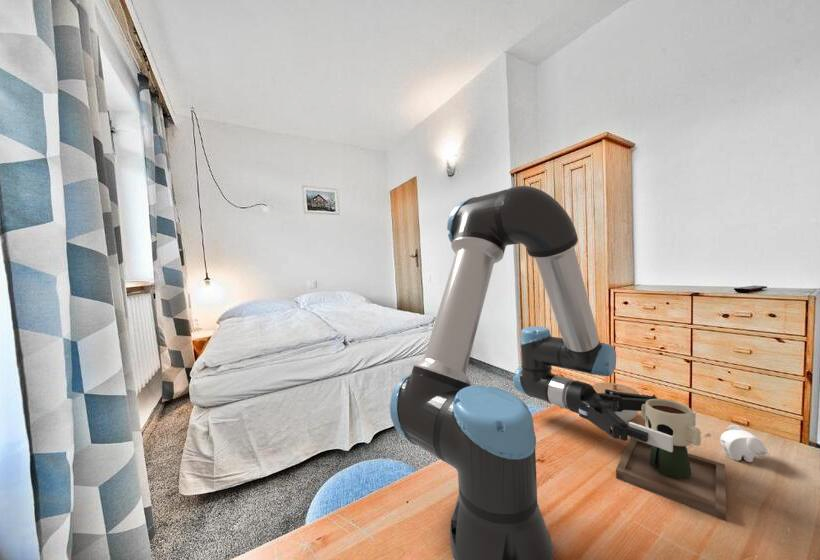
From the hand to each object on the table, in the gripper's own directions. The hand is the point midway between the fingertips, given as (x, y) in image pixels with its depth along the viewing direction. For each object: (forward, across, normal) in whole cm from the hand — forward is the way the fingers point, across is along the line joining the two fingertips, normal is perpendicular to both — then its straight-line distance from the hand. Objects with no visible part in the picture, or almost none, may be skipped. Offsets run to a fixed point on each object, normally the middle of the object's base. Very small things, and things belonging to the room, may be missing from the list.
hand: (684, 431), depth 57 cm
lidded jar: (-18, -16, -10) cm, 27 cm away
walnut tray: (-2, 0, -10) cm, 10 cm away
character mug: (-2, 0, -9) cm, 10 cm away
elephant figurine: (+5, -18, -10) cm, 21 cm away
